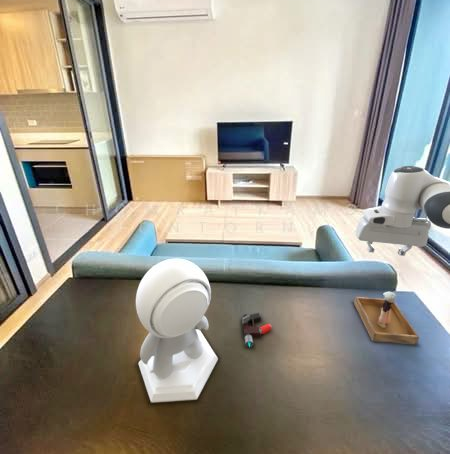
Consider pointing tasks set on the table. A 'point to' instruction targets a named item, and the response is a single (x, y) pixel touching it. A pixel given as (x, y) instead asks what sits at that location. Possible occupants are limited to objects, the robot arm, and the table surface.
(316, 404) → the table surface
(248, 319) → the toy gun
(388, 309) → the grandmother figurine
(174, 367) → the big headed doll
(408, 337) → the shallow wooden tray
